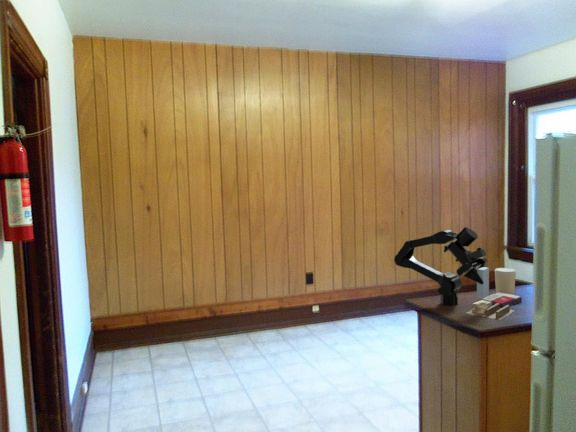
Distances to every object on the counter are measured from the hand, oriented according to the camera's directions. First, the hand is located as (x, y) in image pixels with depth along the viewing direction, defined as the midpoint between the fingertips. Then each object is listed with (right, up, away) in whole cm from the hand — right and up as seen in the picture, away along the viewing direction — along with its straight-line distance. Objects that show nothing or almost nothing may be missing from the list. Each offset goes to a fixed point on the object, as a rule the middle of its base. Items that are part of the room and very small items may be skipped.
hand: (486, 282), depth 191 cm
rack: (+2, -14, 0) cm, 14 cm away
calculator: (+12, -13, +13) cm, 22 cm away
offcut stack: (-1, -12, +2) cm, 12 cm away
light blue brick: (-1, -6, +2) cm, 7 cm away
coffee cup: (+22, -10, +29) cm, 38 cm away
